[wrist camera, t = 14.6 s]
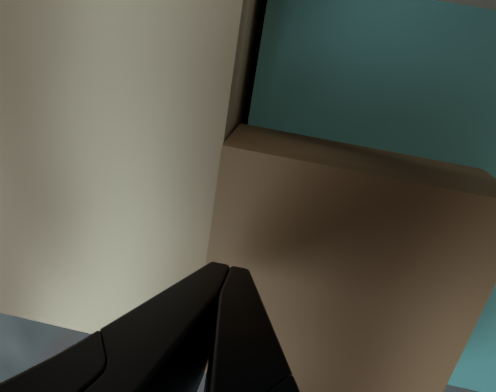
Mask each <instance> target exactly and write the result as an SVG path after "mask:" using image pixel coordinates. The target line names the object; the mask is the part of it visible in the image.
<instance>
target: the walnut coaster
mask: <svg viewBox="0 0 496 392" xmlns="http://www.w3.org/2000/svg"><path fill="white" fill-rule="evenodd" d="M210 262H218V263H223V264H227V265H229V267H231V266H237V267H242V268H246V269H248V270H249V271H250V273H251V276H252V278H253V280H254V283H255V285H256V288H257V290H258V292H259V295H260V297H261V300H262V302H263V304H264V307H265V309H266V312H267V314H268V316H269V319H270V321H271V324H272V326H273V328H274V331H275V333H276V336H277V338H278V340H279V343H280V345H281V348H282V350H283V352H284V355H285V357H286V360H287V362H288V364H289V367H290V369H291V372H292V376H293V377H294V378H295V381H296V383H297V386H298V388H299V390H300V392H444V389H445V387H446V385H447V383H448V381H449V379H450V377H451V375H452V373H453V371H454V369H455V367H456V365H457V363H458V361H459V359H460V356H461V354H462V352H463V350H464V348H465V346H466V344H467V342H468V340H469V338H470V336H471V334H472V332H473V330H474V328H475V325H476V323H477V321H478V319H479V317H480V315H481V313H482V311H483V309H484V307H485V305H486V303H487V301H488V299H489V297H490V294H491V292H492V290H493V288H494V286H495V284H496V178H494V177H493V176H491V175H490V174H489V173H487V172H486V171H485V170H483V169H480V168H475V167H470V166H464V165H459V164H454V163H448V162H443V161H438V160H433V159H427V158H422V157H417V156H411V155H406V154H401V153H396V152H390V151H385V150H380V149H374V148H369V147H364V146H359V145H353V144H348V143H343V142H337V141H332V140H327V139H322V138H316V137H311V136H306V135H300V134H295V133H290V132H285V131H279V130H274V129H269V128H264V127H258V126H253V125H248V124H242V123H240V124H239V125H238V126H237V128H236V129H235V130H234V131H233V132H232V134H231V135H230V136H229V137H228V139H227V140H226V141H225V142H224V143H223V145H222V149H221V156H220V163H219V171H218V178H217V185H216V192H215V200H214V207H213V214H212V222H211V229H210V236H209V243H208V251H207V258H206V264H208V263H210ZM207 366H208V364H207ZM206 372H207V367H206V370H205V372H204V373H206Z"/></svg>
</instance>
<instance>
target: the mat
mask: <svg viewBox="0 0 496 392" xmlns="http://www.w3.org/2000/svg"><path fill="white" fill-rule="evenodd" d="M248 125H253V126H258V127H264V128H269V129H274V130H279V131H285V132H290V133H295V134H300V135H306V136H311V137H316V138H322V139H327V140H332V141H337V142H343V143H348V144H353V145H359V146H364V147H369V148H374V149H380V150H385V151H390V152H396V153H401V154H406V155H411V156H417V157H422V158H427V159H433V160H438V161H443V162H448V163H454V164H459V165H464V166H470V167H475V168H480V169H483V170H485V171H486V172H487V173H489V174H490V175H491V176H493V177H494V178H496V10H493V9H487V8H481V7H475V6H468V5H462V4H456V3H450V2H444V1H437V0H267V6H266V12H265V18H264V24H263V31H262V37H261V43H260V50H259V56H258V62H257V68H256V75H255V81H254V87H253V93H252V100H251V106H250V112H249V119H248ZM447 384H448V385H452V386H456V387H461V388H465V389H470V390H474V391H478V392H496V284H495V286H494V288H493V290H492V292H491V294H490V297H489V299H488V301H487V303H486V305H485V307H484V309H483V311H482V313H481V315H480V317H479V319H478V321H477V323H476V325H475V328H474V330H473V332H472V334H471V336H470V338H469V340H468V342H467V344H466V346H465V348H464V350H463V352H462V354H461V356H460V359H459V361H458V363H457V365H456V367H455V369H454V371H453V373H452V375H451V377H450V379H449V381H448V383H447Z"/></svg>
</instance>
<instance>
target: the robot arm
mask: <svg viewBox="0 0 496 392" xmlns="http://www.w3.org/2000/svg"><path fill="white" fill-rule="evenodd" d="M207 364H208V366H207ZM206 367H207V372H206V379H205V386H204V392H300V390H299V388H298V386H297V383H296V381H295V378H294V377H293V376H292V372H291V369H290V367H289V364H288V362H287V360H286V357H285V355H284V352H283V350H282V348H281V345H280V343H279V340H278V338H277V336H276V333H275V331H274V328H273V326H272V324H271V321H270V319H269V316H268V314H267V312H266V309H265V307H264V304H263V302H262V300H261V297H260V295H259V292H258V290H257V288H256V285H255V283H254V280H253V278H252V276H251V273H250V271H249V270H248V269H246V268H242V267H237V266H231V267H229V265H227V264H223V263H218V262H210V263H208V264H206V265H205V266H203V267H202V268H200V269H198V270H197V271H195V272H193V273H192V274H190V275H188V276H187V277H185V278H183V279H182V280H180V281H178V282H177V283H175V284H174V285H172V286H170V287H169V288H167V289H165V290H164V291H162V292H160V293H159V294H157V295H155V296H154V297H152V298H150V299H149V300H147V301H145V302H144V303H142V304H141V305H139V306H137V307H136V308H134V309H132V310H131V311H129V312H127V313H126V314H124V315H122V316H121V317H119V318H117V319H116V320H114V321H113V322H111V323H109V324H108V325H106V326H104V327H103V328H101V329H100V331H96V332H94V333H92V334H91V335H89V336H88V337H86V338H84V339H83V340H81V341H79V342H77V343H76V344H74V345H72V346H70V347H69V348H67V349H65V350H63V351H62V352H60V353H58V354H56V355H55V356H53V357H51V358H49V359H47V360H45V361H43V362H41V363H39V364H37V365H35V366H33V367H31V368H29V369H28V370H26V371H24V372H22V373H20V374H18V375H16V376H14V377H11V378H9V379H7V380H5V381H3V382H1V383H0V392H197V390H198V388H199V385H200V383H201V380H202V378H203V375H204V372H205V370H206Z"/></svg>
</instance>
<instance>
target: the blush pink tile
mask: <svg viewBox="0 0 496 392" xmlns="http://www.w3.org/2000/svg"><path fill="white" fill-rule="evenodd" d="M437 1H444V2H450V3H456V4H462V5H468V6H475V7H481V8H487V9H493V10H496V0H437Z"/></svg>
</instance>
